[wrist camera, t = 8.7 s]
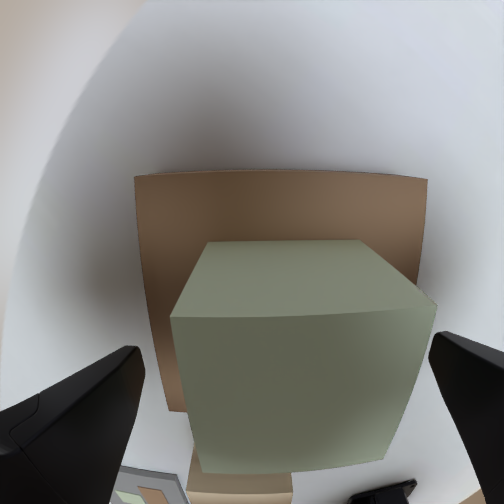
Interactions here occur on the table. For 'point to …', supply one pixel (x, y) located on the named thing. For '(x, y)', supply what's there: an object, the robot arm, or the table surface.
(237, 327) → the sage cube
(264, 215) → the walnut block
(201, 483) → the birch cube
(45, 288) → the table surface
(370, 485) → the table surface
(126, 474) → the slate card
